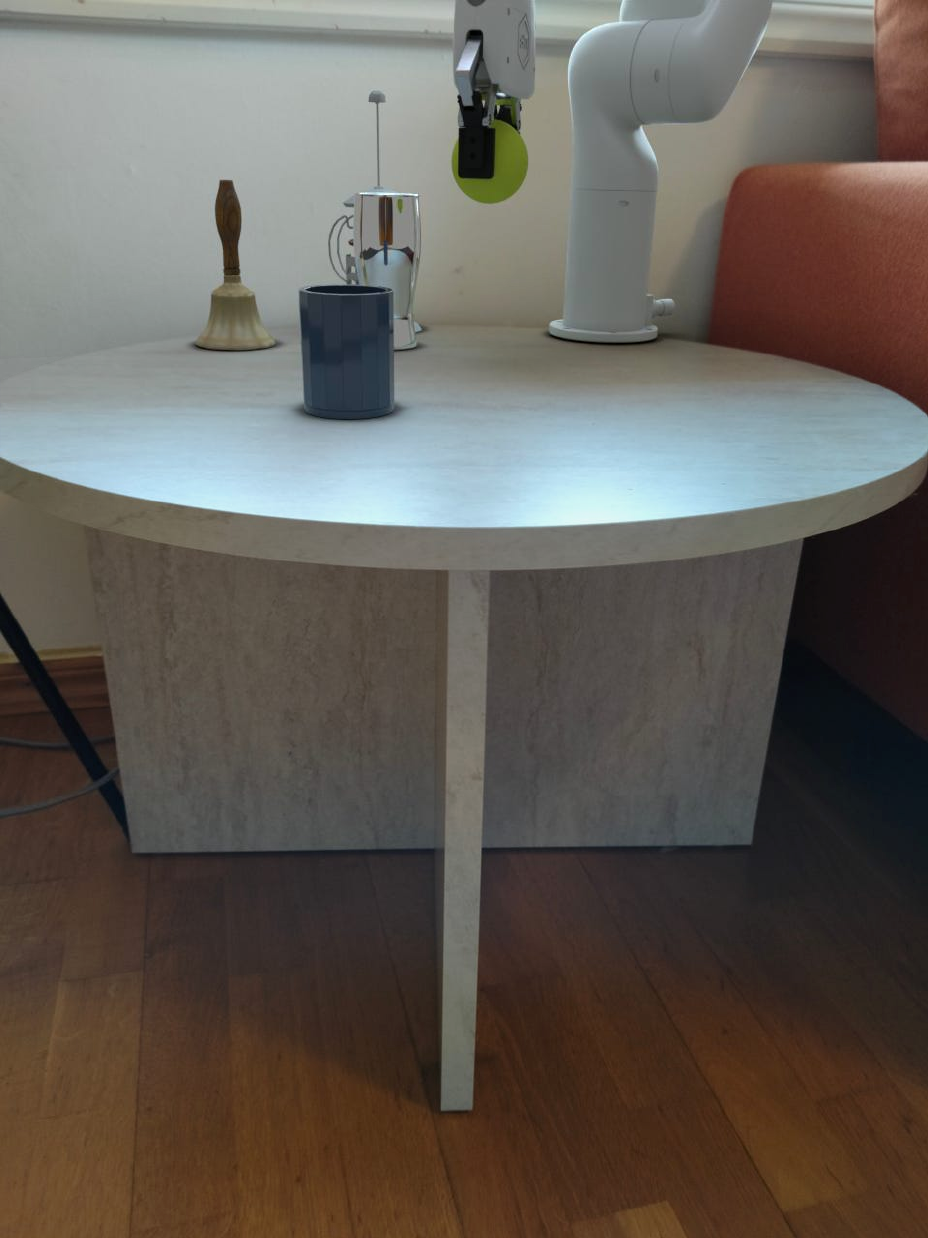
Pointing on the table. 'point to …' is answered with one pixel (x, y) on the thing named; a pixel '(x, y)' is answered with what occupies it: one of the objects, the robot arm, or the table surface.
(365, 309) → the cup
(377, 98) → the french press
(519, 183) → the ball
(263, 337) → the hand bell
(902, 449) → the table surface
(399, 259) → the beer glass
